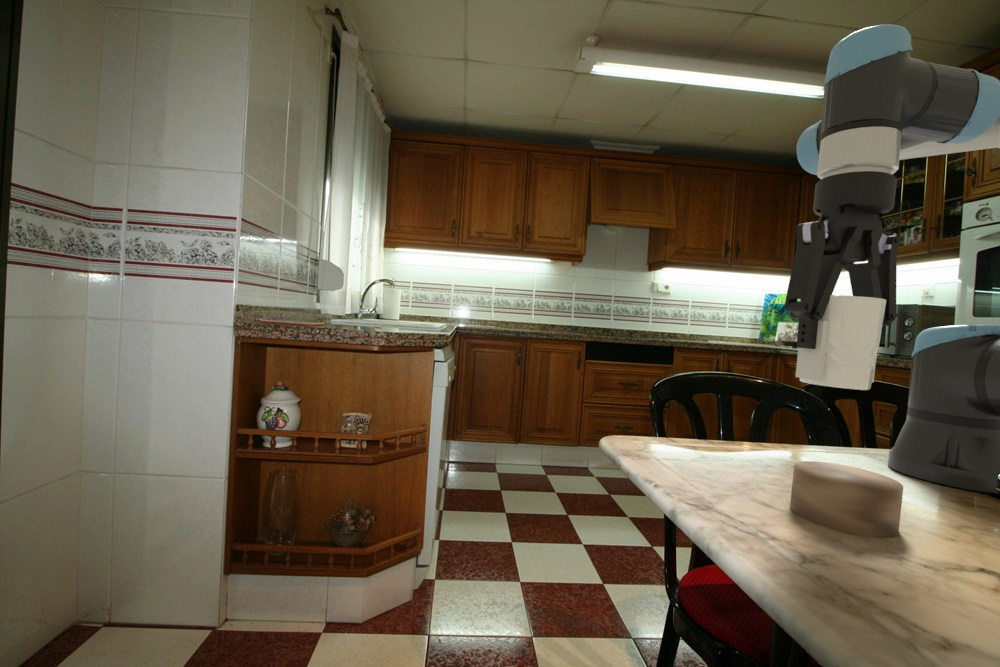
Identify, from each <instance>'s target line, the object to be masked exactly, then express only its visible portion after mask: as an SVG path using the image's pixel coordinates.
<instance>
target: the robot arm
mask: <svg viewBox="0 0 1000 667" xmlns="http://www.w3.org/2000/svg"><path fill="white" fill-rule="evenodd" d="M913 48H914V47H913V46H912V35H911V33H910V32H909V31H908V30H907V28H906V27H904V26H902V25H898V24H878V25H873V26H868V27H864V28H862V29H859V30H857V31H854V32H852V33H850V34H848V35H847V36H845V37H844V38H842V39H840V40H838V42H837V43H836V44H835V45H834V46H833V47H832V49H831V51H830V54H829V58H828V61H827V62H828V63H827V67H826V73H825V79H824V82H823V87H824V88H823V100H822V114H821V120H819V121H818V122H815V123H814V124H813V125H810V126H809V127H807V128H806V129H805V130H804V131H803V132H802V133H801V134H800V136H799V138H798V140H797V143H796V157H797V160H798V163H799V165H800V166H801V168H802V169H803V170H804V171H805V172H807V173H809V174H811V175H815V176H817V178H819V179H820V180H818V181H817V182H816V183H815V188H814V198H813V204H812V205H813V206H812V210H813V213H814V214H815V215H816V216H819V220H816V221H810V222H803V223H798V224H797V226H796V230H795V231H796V250H795V254H794V258H793V263H792V268H791V273H790V278H789V283H788V287H787V291H786V297H785V301H784V310H785V312H786V313H789V317H790V318H791V319H792V320H793V319H794V320H795V319H796V320H798V325H797V336H796V337H797V338H796V346H797V347H796V348H797V357H796V366H795V367H796V368H795V378H799V379H800V378H805V379H811V380H817V381H823V373H824V363H825V353H826V343H827V333H828V323H829V321H819V320H820V319H822V317H823V315H824V313H825V310H826V308H827V305H828V303H829V300H830V295H832V294H833V293H834V290H835V288H836V286H837V283H838V280H839V277H840V275H841V273H842V270H843V269H844V270H846V271H847V272H848V275H849V276H848V277H849V282H850V286H851V293H852V296H861V297H873V298H881V299H886V306H885V312H884V318H883V325H882V327H889V326H892V323H893V322H894V321H895V320H896V318H897V255H898V252H899V247H900V243H901V238H900V236H899V235H889V236H888V235H886V234H884V232H883V226H882V217H883V216H884V215H885V214H887V213H889V212H891V211H892V210H893V209H894V207H895V202H896V199H895V198H896V192H897V182H898V180H897V177H896V176H895V175H894V174H895V173H896V172H897V171H898V170H899V169H900V161H903V160H909V159H917V158H927V157H932V156H933V157H934V156H941V155H949V154H950V155H951V154H957V153H964V152H971V151H972V152H973V151H980V150H989V149H1000V80H999V79H998V78H997V77H994V76H992V75H988V74H984V73H980V72H979V71H977V70H976V69H973V68H962V67H959V66H958V67H957V66H952V65H951V66H950V65H946V64H940V63H935V62H930V61H924V60H923V59H918V58H915V57H912V56H911V53H912V52H913ZM813 306H814V307H813ZM914 342H915V343H914V348H913V351H912V352H911V353H912V354H911V368H910V378H909V388H908V390H909V391H908V401H907V411H906V420H905V422H904V424H903V426H902V428H901V430H900V432H899V434H898V436H897V439H895V440H896V441H895V443H894V446H893V447H891V449H889V451H888V459H887V465H888V467H889V468H891V469H893V470H895V471H897V472H898V473H902V474H904V475H907V476H911V477H914V478H916V479H920V480H923V481H927V482H932V483H935V484H941V485H945V486H950V487H953V488H959V489H965V490H969V491H977V492H983V493H989V494H990V493H992V494H1000V493H999V492H998V490H997V489H996V484H997V480H998V475H999V474H1000V324H956V325H955V324H954V325H944V326H935V327H929V328H926V329H924V330H922V331H921V332H919V333H918V335H917V336H916V338H915V341H914ZM876 364H877V362H876V363H875V365H874V367H873V377H872V383H874V382H875V373H876Z"/></svg>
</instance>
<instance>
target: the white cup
mask: <svg viewBox="0 0 1000 667" xmlns="http://www.w3.org/2000/svg"><path fill="white" fill-rule="evenodd" d="M885 306H886V299H881V298H873V297H861V296H853V295H834V294H833V295H830V300H829V303H828V305H827V308H826V310H825V313H824V315H823V317H822V319H820V320H819V321H829V323H828V333H827V343H826V353H825V363H824V373H823V381H817V380H811V379H805V378H799V381H800V382H801V383H804V384H805V383H806V384H809V385H814V386H821V387H822V386H823V387H829V388H830V387H831V388H837V389H838V388H839V389H847V390H848V389H849V390H856V391H857V390H859V391H869V390H871V388H872V377H873V367H874V365H875V363H876V364H877V357H878V350H879V348H880V345H881V343H880V341H881V337H882V331H883V330H882V329H883V326H882V325H883V318H884V312H885ZM813 307H814V306H813ZM875 366H876V365H875Z"/></svg>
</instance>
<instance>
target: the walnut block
mask: <svg viewBox="0 0 1000 667" xmlns="http://www.w3.org/2000/svg"><path fill="white" fill-rule="evenodd" d="M792 471H793V472H792V473H793V474H792V482H791V484H792V485H791V493H790V502H789V509H790V510H791V511H792V512H793V513H794V514H795V515H797V516H799V517H801V518H802V519H805V521H808V522H810V523H813V524H815V525H818V526H821V527H823V528H827V529H830V530H833V531H837V532H840V533H844V534H849V535H854V536H859V537H865V538H873V539H875V538H876V539H880V538H881V539H887V538H893V537H896V536H898V535H899V532H900V531H899V530H900V522H901V511H902V503H903V497H904V496H903V494H904V485H903V484H902V483H901V482H900V481H898V480H895V479H893V478H891V477H888V476H886V475H883V474H880V473H877V472H874V471H871V470H866V469H862V468H859V467H854V466H850V465H845V464H838V463H834V462H833V463H830V462H825V461H812V460H808V461H807V460H806V461H805V460H804V461H797V462H795V463H794V464H793V470H792Z"/></svg>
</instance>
